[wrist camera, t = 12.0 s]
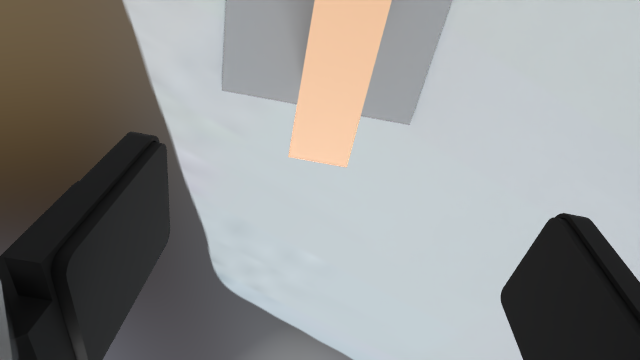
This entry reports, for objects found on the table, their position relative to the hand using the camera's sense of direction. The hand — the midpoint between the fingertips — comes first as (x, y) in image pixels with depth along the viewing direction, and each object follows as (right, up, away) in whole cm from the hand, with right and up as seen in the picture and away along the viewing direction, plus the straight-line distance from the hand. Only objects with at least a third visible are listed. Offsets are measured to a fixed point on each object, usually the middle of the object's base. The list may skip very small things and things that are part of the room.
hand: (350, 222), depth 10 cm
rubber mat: (0, +11, +17) cm, 20 cm away
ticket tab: (0, +11, +16) cm, 20 cm away
